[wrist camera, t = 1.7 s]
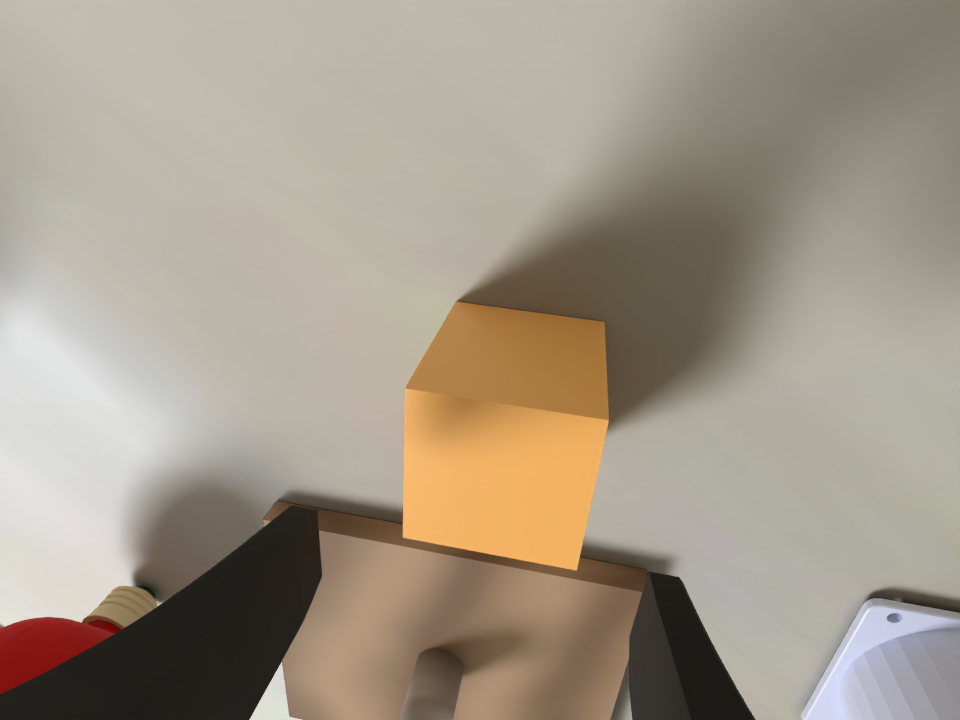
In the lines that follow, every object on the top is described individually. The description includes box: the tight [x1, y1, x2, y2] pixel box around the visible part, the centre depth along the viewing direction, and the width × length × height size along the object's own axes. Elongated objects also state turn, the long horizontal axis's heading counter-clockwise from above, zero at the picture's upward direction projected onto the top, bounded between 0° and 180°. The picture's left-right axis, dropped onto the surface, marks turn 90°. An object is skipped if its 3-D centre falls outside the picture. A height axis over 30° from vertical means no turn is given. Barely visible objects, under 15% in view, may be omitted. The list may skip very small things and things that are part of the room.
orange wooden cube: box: [403, 302, 609, 571], centre depth 18 cm, size 5×5×6 cm
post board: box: [263, 501, 647, 720], centre depth 25 cm, size 16×14×6 cm
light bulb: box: [0, 586, 158, 694], centre depth 25 cm, size 9×7×10 cm
